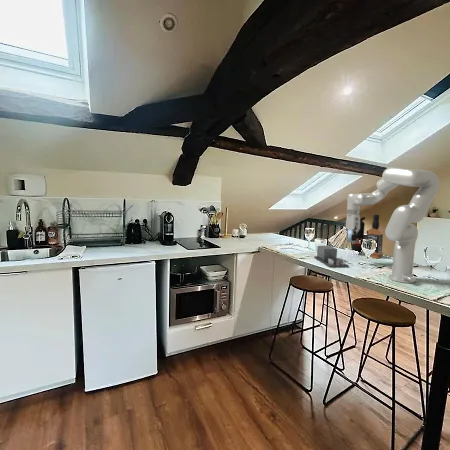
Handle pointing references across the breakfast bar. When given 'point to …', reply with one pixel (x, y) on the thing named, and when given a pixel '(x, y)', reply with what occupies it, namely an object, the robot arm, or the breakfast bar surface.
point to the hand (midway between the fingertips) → (351, 239)
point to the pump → (350, 236)
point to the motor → (329, 257)
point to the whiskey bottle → (376, 237)
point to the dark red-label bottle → (359, 236)
